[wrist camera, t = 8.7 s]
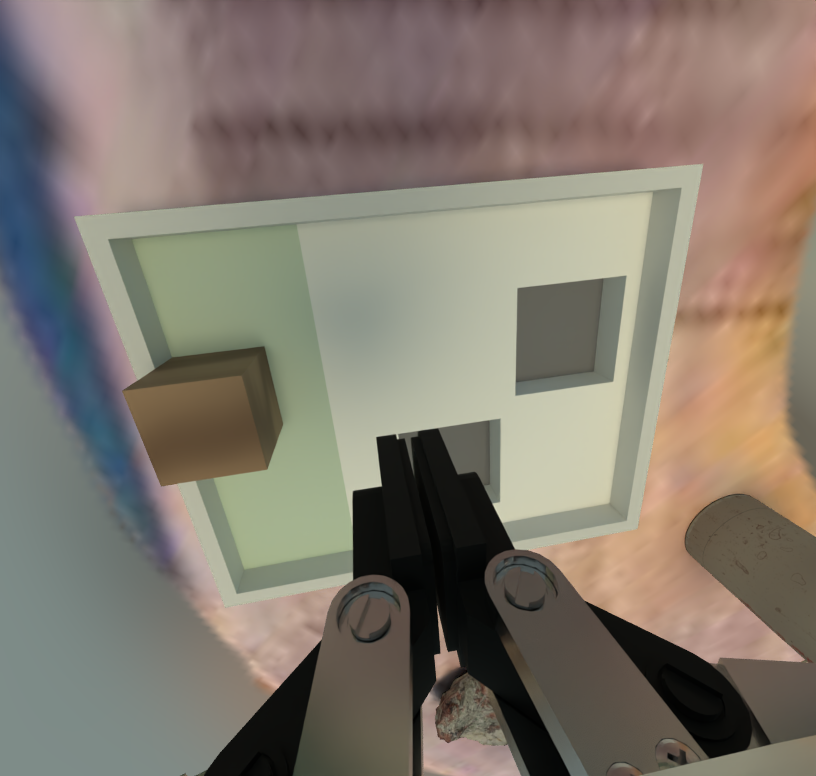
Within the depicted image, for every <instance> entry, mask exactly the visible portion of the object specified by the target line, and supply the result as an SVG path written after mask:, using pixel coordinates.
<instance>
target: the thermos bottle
mask: <svg viewBox="0 0 816 776" xmlns="http://www.w3.org/2000/svg"><path fill="white" fill-rule="evenodd" d="M685 545H686V549H687V551H688V552H689V554H690V555H691V556H692V557H693V558H694V559H695V560H696V561H698V562H699V563H700V564H701V565H702V566H703V567H704V568H705V569H706V570H707V571H708V572H709V573H711V574H712V575H713V576H714V577H715V578H716V579H717V580H718V581H719V582H720V583H721V584H722V585H724V586H725V587H726V588H727V589H728V590H729V591H730V592H731V593H732V594H733V595H734V596H736V597H737V598H738V599H739V600H740V601H741V602H742V603H743V604H744V605H745V606H746V607H747V608H749V609H750V610H751V611H752V612H753V613H754V614H755V615H756V616H757V617H758V618H759V619H761V620H762V621H763V622H764V623H765V624H766V625H767V626H768V627H769V628H770V629H771V630H772V631H774V632H775V633H776V634H777V635H778V636H779V637H780V638H781V639H782V640H784V641H785V642H786V643H787V644H788V645H789V646H791V647H792V648H793V649H794V650H795V651H796V652H797V653H798V654H799V655H801V656H802V657H803V658H804V659H805V660H806V661H807V662H808V663H816V537H815V536H813V535H812V534H810V533H808V532H807V531H805V530H804V529H802V528H801V527H799V526H797V525H796V524H794V523H793V522H791V521H790V520H788V519H786V518H785V517H783V516H782V515H780V514H779V513H777V512H775V511H774V510H772V509H771V508H769V507H768V506H766V505H764V504H763V503H761V502H760V501H758V500H756V499H755V498H753V497H751V496H747V495H731V496H727V497H724V498H721V499H719V500H717V501H715V502H714V503H712V504H711V505H709V506H708V507H706V508H705V509H704V510H703V511H702V512H700V513H699V515H698V516H697V517H696V518H695V519H694V520H693V522H692V523H691V525H690V527H689V529H688V531H687V534H686V538H685Z"/></svg>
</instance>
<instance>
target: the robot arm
mask: <svg viewBox="0 0 816 776" xmlns="http://www.w3.org/2000/svg"><path fill="white" fill-rule="evenodd" d="M376 441H377V450H378V459H379V467H380V476H381V484H382V486H380V487H374V488H367V489H361V490H355V491H353V495H352V509H353V581H351V582H349V583H348V584H347V585H345V586H344V587H343V588H342V589H340V590H339V592H338V593H337V595H336V596H335V597H334V599H333V600H332V602H331V605H330V608H329V610H328V613H327V618H326V623H325V627H324V632H323V637H322V640H321V641H320V642H319V643H318V644H317V645H316V647H315V648H314V649H313V650H312V651H311V652H310V653H309V654H308V655H307V657H306V658H305V659H304V660H303V661H302V662H301V663H300V664H299V665H298V667H297V668H296V669H295V670H294V671H293V672H292V673H291V674H290V676H289V677H288V678H287V679H286V680H285V681H284V682H283V683H282V684H281V686H280V687H279V688H278V689H277V690H276V691H275V692H274V693H273V694H272V696H271V697H270V698H269V699H268V700H267V701H266V702H265V703H264V704H263V706H262V707H261V708H260V709H259V710H258V711H257V712H256V713H255V715H254V716H253V717H252V718H251V719H250V720H249V721H248V722H247V723H246V725H245V726H244V727H243V728H242V729H241V730H240V731H239V732H238V733H237V735H236V736H235V737H234V738H233V739H232V740H231V741H230V742H229V743H228V745H227V746H226V747H225V748H224V749H223V750H222V751H221V752H220V754H219V755H218V756H217V758H216V759H215V760H214V762H213V763H212V764H211V766H210V767H209V768H208V770H206V771H204V772H202V773H200V774H198V775H196V776H424V774H423V773H424V772H423V721H422V704H423V702H424V700H425V699H426V697H427V695H428V694H429V692H430V690H431V689H432V687H433V685H434V684H435V682H436V671H435V660H434V655H435V654H440V640H439V627H438V614H437V607H438V611H439V616H440V620H441V624H442V629H443V633H444V638H445V642H446V647H447V650H448V652H450V651H455V650H457V653H458V657H459V662H460V666H461V667H465V666H466V667H467V671H468V674H469V675H471V676H472V677H473V678H475V679H476V680H478V681H479V682H480V683H482V684H483V685H484V686H485V689H486V693H487V696H488V699H489V701H490V704H491V706H492V708H493V711H494V713H495V715H496V718H497V720H498V722H499V725H500V727H501V730H502V732H503V734H504V737H505V739H506V741H507V744H508V746H509V748H510V751H511V753H512V755H513V758H514V760H515V762H516V765H517V767H518V769H519V772H520V774H521V776H816V663H805V662H787V661H770V660H752V659H734V658H720V659H719V661H718V663H717V664H713V663H708V662H706V661H705V660H703V659H701V658H700V657H698V656H697V655H695V654H693V653H691V652H689V651H687V650H685V649H683V648H681V647H679V646H677V645H675V644H673V643H671V642H669V641H667V640H665V639H662V638H660V637H658V636H656V635H654V634H652V633H650V632H648V631H646V630H644V629H642V628H640V627H638V626H636V625H634V624H632V623H630V622H627V621H625V620H623V619H621V618H619V617H617V616H615V615H613V614H611V613H609V612H607V611H605V610H603V609H601V608H599V607H597V606H594V605H592V604H590V603H588V602H586V601H584V600H583V599H582V597H581V596H580V595H579V594H578V592H577V591H576V590H575V589H574V587H573V586H572V585H571V583H570V582H569V581H568V580H567V578H566V577H565V576H564V575H563V573H562V572H561V571H560V570H559V569H558V568H557V567H556V566H555V565H554V564H553V563H552V562H551V561H550V560H548V559H547V558H545V557H543V556H542V555H540V554H537V553H534V552H531V551H528V550H518V549H515V548H514V546H513V544H512V542H511V540H510V538H509V536H508V534H507V532H506V530H505V528H504V526H503V524H502V522H501V520H500V518H499V516H498V514H497V512H496V510H495V508H494V506H493V504H492V502H491V500H490V498H489V496H488V494H487V492H486V490H485V488H484V486H483V484H482V482H481V480H480V478H479V476H478V474H477V473H476V472H469V473H463V474H457V472H456V469H455V467H454V465H453V462H452V460H451V457H450V455H449V453H448V450H447V448H446V445H445V443H444V441H443V438H442V436H441V434H440V431H439V429H438V428H434V429H427V430H421V431H418V436H416V437H411V449H412V459H413V470H414V474H413V470H412V466H411V462H410V458H409V453H408V449H407V445H406V441H405V438H403V439H397V436H396V434H393V435H386V436H379V437H376ZM181 776H187V775H186V774H183V775H181Z"/></svg>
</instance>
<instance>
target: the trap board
mask: <svg viewBox="0 0 816 776" xmlns="http://www.w3.org/2000/svg"><path fill="white" fill-rule="evenodd" d="M702 168H703V164H698V165H686V166H674V167H662V168H650V169H638V170H626V171H614V172H602V173H590V174H578V175H566V176H554V177H542V178H530V179H518V180H506V181H494V182H482V183H470V184H459V185H447V186H435V187H423V188H411V189H399V190H387V191H375V192H363V193H351V194H339V195H327V196H315V197H303V198H291V199H279V200H267V201H255V202H243V203H231V204H219V205H207V206H196V207H184V208H172V209H160V210H148V211H136V212H124V213H112V214H100V215H88V216H76V217H74V218H75V221H76V223H77V226H78V228H79V231H80V233H81V236H82V239H83V241H84V244H85V246H86V249H87V252H88V254H89V257H90V259H91V262H92V265H93V267H94V270H95V272H96V275H97V277H98V280H99V283H100V285H101V288H102V290H103V293H104V296H105V298H106V301H107V303H108V306H109V308H110V311H111V314H112V316H113V319H114V321H115V324H116V327H117V329H118V332H119V334H120V337H121V339H122V342H123V345H124V347H125V350H126V352H127V355H128V358H129V360H130V363H131V365H132V368H133V371H134V373H135V376H136V378H137V381H138V380H139V379H141V378H142V377H144V376H145V375H147V374H148V373H150V372H151V371H153V370H154V369H156V368H157V367H159V366H160V365H162V364H163V363H165V362H166V361H168V360H169V359H171V358H173V357H181V356H189V355H197V354H205V353H213V352H221V351H230V350H238V349H246V348H254V347H262V346H264V347H265V351H266V355H267V359H268V363H269V367H270V371H271V376H272V380H273V384H274V388H275V392H276V396H277V400H278V405H279V409H280V413H281V417H282V421H283V426H282V429H281V432H280V435H279V438H278V441H277V444H276V446H275V449H274V452H273V455H272V458H271V461H270V464H269V466H268V469H267V470H262V471H256V472H250V473H243V474H237V475H230V476H224V477H218V478H211V479H205V480H198V481H192V482H186V483H179V484H178V487H179V489H180V492H181V495H182V497H183V500H184V502H185V505H186V508H187V510H188V513H189V515H190V518H191V520H192V523H193V526H194V528H195V531H196V533H197V536H198V539H199V541H200V544H201V546H202V549H203V551H204V554H205V557H206V559H207V562H208V564H209V567H210V570H211V572H212V575H213V577H214V580H215V583H216V585H217V588H218V590H219V593H220V595H221V598H222V601H223V603H224V606H225V608H226V607H231V606H236V605H242V604H247V603H252V602H257V601H262V600H268V599H273V598H278V597H283V596H289V595H294V594H299V593H304V592H310V591H315V590H320V589H325V588H331V587H336V586H341V585H346V584H348V583H349V582H351V581H353V509H352V495H353V491H355V490H361V489H367V488H374V487H380V486H382V484H381V476H380V467H379V459H378V450H377V441H376V437H379V436H386V435H393V434H396V436H397V439H403V438H405V441H406V445H407V449H408V453H409V458H410V462H411V466H412V470H413V459H412V449H411V437H416V436H418V431H421V430H427V429H434V428H438V429H439V431H440V434H441V436H442V438H443V441H444V443H445V445H446V448H447V450H448V453H449V455H450V457H451V460H452V462H453V465H454V467H455V469H456V472H457V474H463V473H469V472H476V473H477V474H478V476H479V478H480V480H481V482H482V484H483V486H484V488H485V490H486V492H487V494H488V496H489V498H490V500H491V502H492V504H493V506H494V508H495V510H496V512H497V514H498V516H499V518H500V520H501V522H502V524H503V526H504V528H505V530H506V532H507V534H508V536H509V538H510V540H511V542H512V544H513V546H514V548H515V549H518V550H530V549H535V548H540V547H546V546H551V545H556V544H561V543H567V542H572V541H577V540H582V539H587V538H593V537H598V536H603V535H608V534H614V533H619V532H624V531H629V530H635V529H637V528H638V523H639V517H640V512H641V506H642V501H643V495H644V489H645V484H646V478H647V473H648V467H649V462H650V456H651V451H652V445H653V440H654V434H655V428H656V423H657V417H658V412H659V406H660V401H661V395H662V390H663V384H664V379H665V373H666V367H667V362H668V356H669V351H670V345H671V340H672V334H673V329H674V323H675V318H676V312H677V306H678V301H679V295H680V290H681V284H682V279H683V273H684V268H685V262H686V257H687V251H688V245H689V240H690V234H691V229H692V223H693V218H694V212H695V207H696V201H697V196H698V190H699V184H700V179H701V173H702ZM413 474H414V470H413Z"/></svg>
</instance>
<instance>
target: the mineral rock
mask: <svg viewBox="0 0 816 776" xmlns="http://www.w3.org/2000/svg"><path fill="white" fill-rule="evenodd" d="M435 720H436V721H435V724H436V728H437V733H438V737H440V740H441V739H444V740H445V741H446V742H447V743H449V742H451V741H454V740H457V739H459V738H461V737H463V738H464V737H467V739H471V740H475V741H476V740H477V741H479V743H481V744H483V745H492V746H495V745H504V746H505V745H508V744H507V741H506V739H505V737H504V734H503V732H502V730H501V727H500V725H499V722H498V720H497V718H496V715H495V713H494V711H493V708H492V706H491V704H490V701H489V699H488V696H487V693H486V689H485V686H484V685H483V684H482V683H480V682H479V681H478V680H476V679H475V678H473V677H472V676H471V675H469V674H468V672H467V673H466V674H464V675H463V676H461V677H459V678H456V679H455V680H454V681H453V683H452V685H451V688H450V690H449V691H447V692H445V693H443V694H442V697H441V701H440V703H439V706H438V707H437V708H436V716H435Z"/></svg>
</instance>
